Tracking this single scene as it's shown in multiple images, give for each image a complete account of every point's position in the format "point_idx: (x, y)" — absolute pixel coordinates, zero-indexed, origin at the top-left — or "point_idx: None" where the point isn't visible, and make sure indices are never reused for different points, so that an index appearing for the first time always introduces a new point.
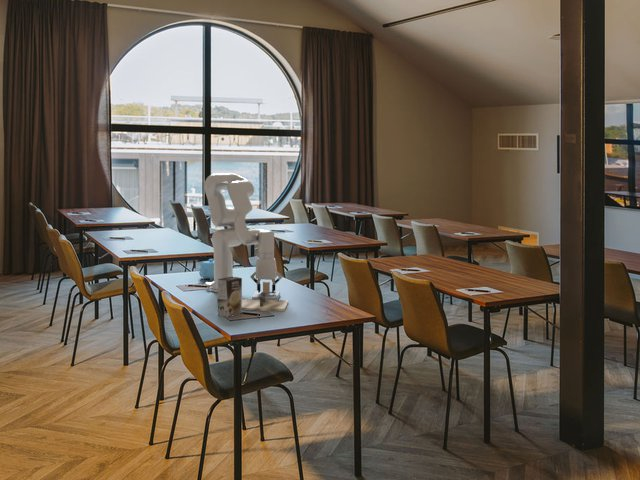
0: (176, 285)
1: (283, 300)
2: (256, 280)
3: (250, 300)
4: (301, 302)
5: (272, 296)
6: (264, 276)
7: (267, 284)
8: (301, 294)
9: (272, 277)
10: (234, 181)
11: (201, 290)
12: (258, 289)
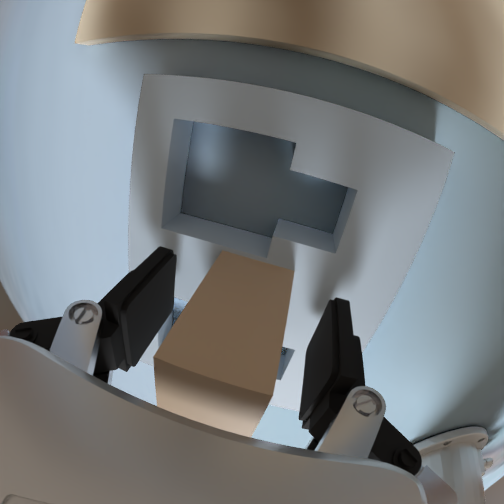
0: (496, 469)
1: (104, 32)
2: (377, 453)
3: (466, 69)
4: (24, 84)
5: (190, 227)
6: (193, 499)
7: (193, 342)
8: (51, 314)
9: (10, 370)
10: None
11: (496, 443)
12: (349, 323)
